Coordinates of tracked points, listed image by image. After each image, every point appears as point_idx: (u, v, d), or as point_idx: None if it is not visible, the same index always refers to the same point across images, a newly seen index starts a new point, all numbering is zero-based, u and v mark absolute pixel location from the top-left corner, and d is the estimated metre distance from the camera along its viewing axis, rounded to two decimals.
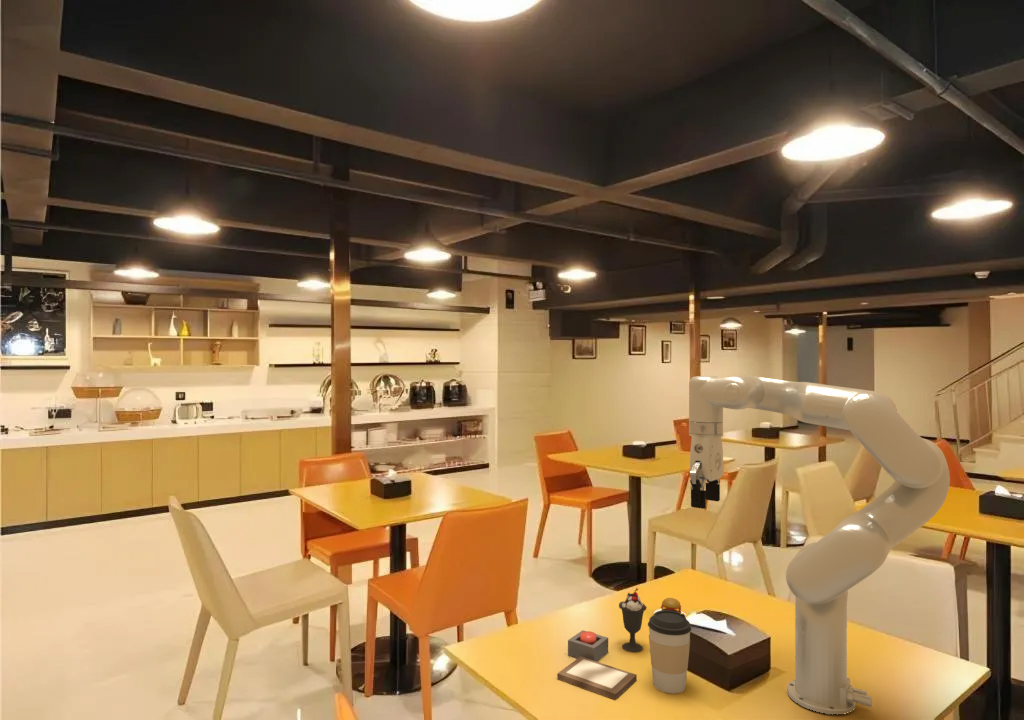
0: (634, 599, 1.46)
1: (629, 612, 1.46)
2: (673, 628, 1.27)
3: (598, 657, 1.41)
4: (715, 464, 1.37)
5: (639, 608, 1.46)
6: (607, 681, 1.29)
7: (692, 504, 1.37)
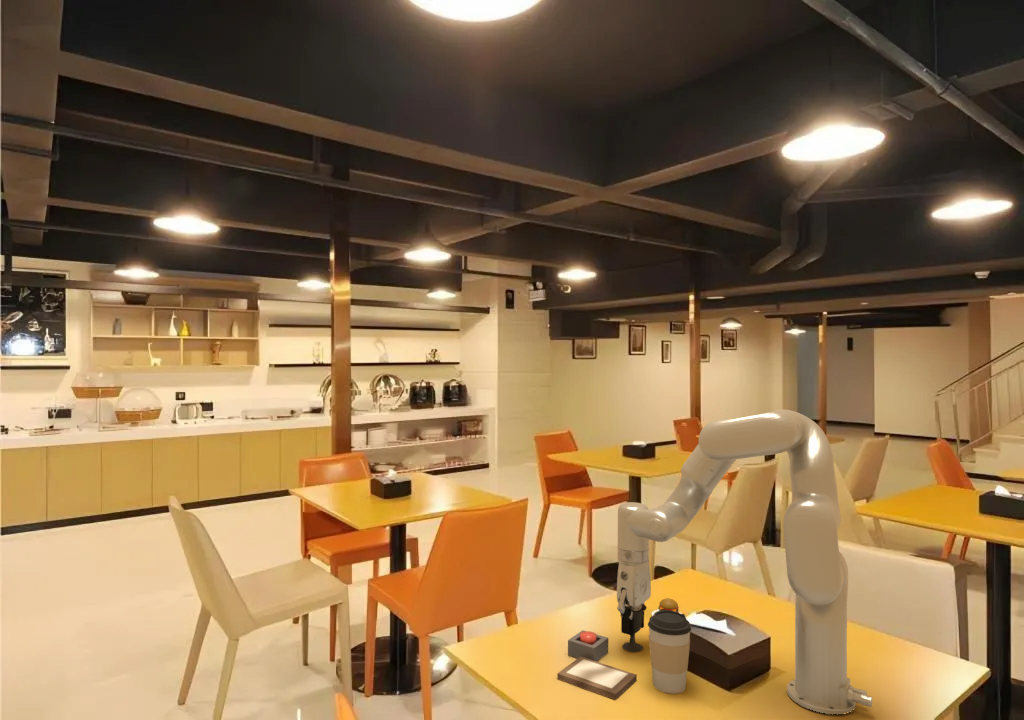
0: None
1: None
2: (673, 628, 1.27)
3: (598, 657, 1.41)
4: (640, 590, 1.45)
5: (639, 608, 1.46)
6: (607, 681, 1.29)
7: (622, 630, 1.47)
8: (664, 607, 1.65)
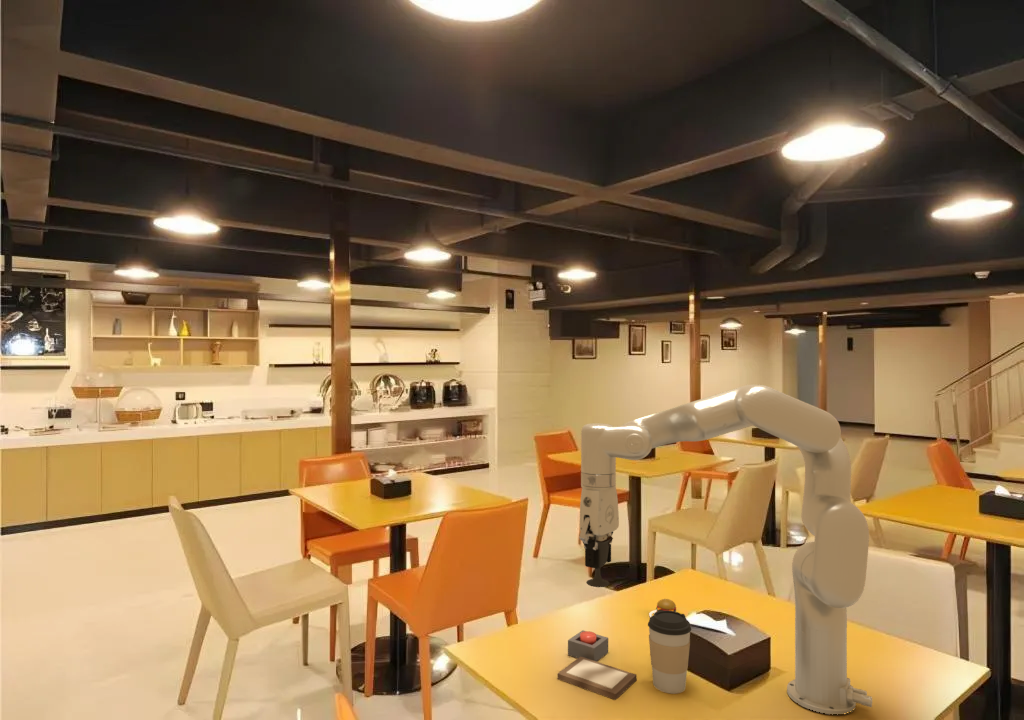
0: None
1: None
2: (673, 628, 1.27)
3: (598, 657, 1.41)
4: (606, 518, 1.30)
5: (604, 538, 1.31)
6: (607, 681, 1.29)
7: (586, 563, 1.31)
8: (661, 607, 1.65)
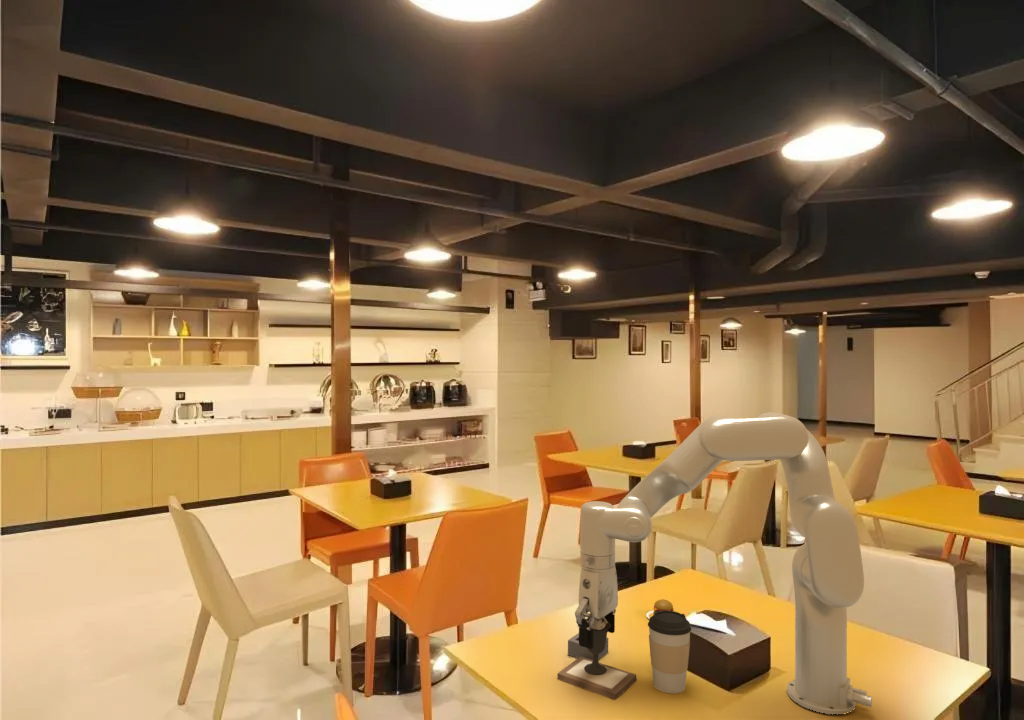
0: None
1: None
2: (673, 628, 1.27)
3: (598, 657, 1.41)
4: (605, 599, 1.30)
5: (602, 627, 1.32)
6: (607, 681, 1.29)
7: (580, 642, 1.29)
8: (658, 608, 1.65)
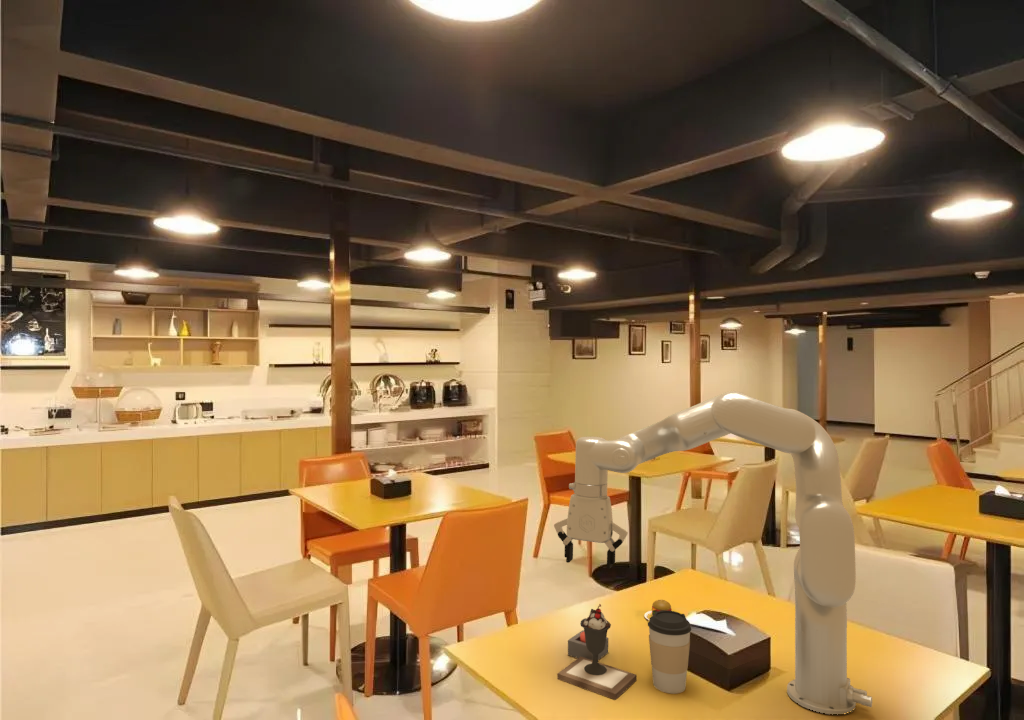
0: (597, 616, 1.32)
1: (591, 631, 1.32)
2: (673, 628, 1.27)
3: (598, 657, 1.41)
4: (580, 524, 1.40)
5: (602, 627, 1.32)
6: (607, 681, 1.29)
7: None
8: (656, 608, 1.64)
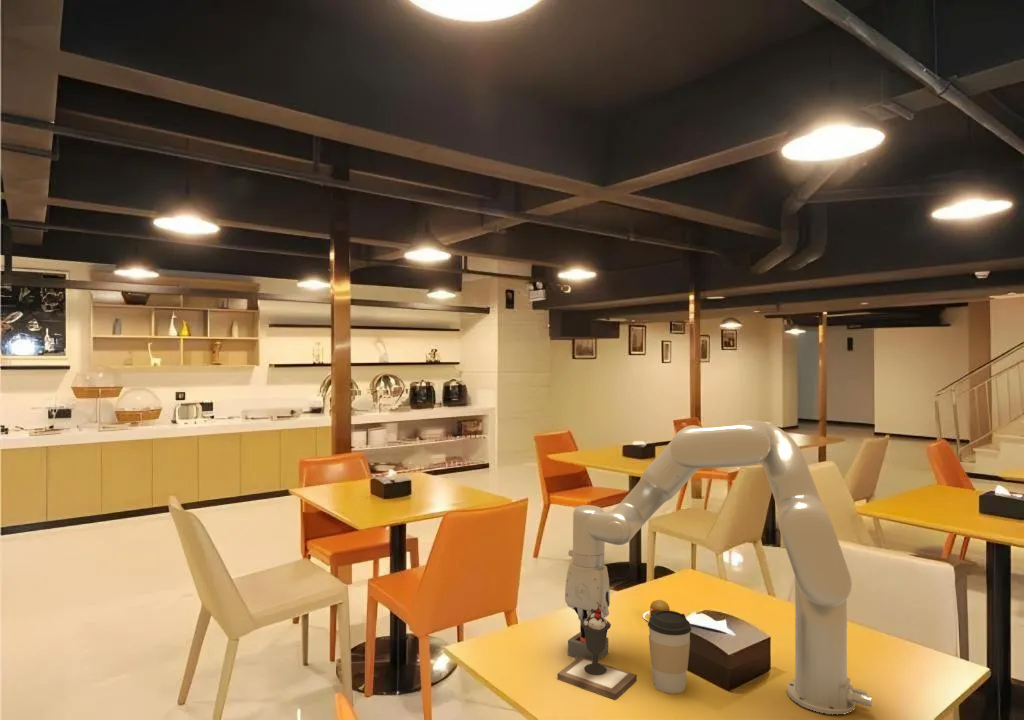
0: (597, 616, 1.32)
1: (591, 631, 1.32)
2: (673, 628, 1.27)
3: (598, 657, 1.41)
4: (576, 592, 1.44)
5: (602, 627, 1.32)
6: (607, 681, 1.29)
7: None
8: (654, 608, 1.64)
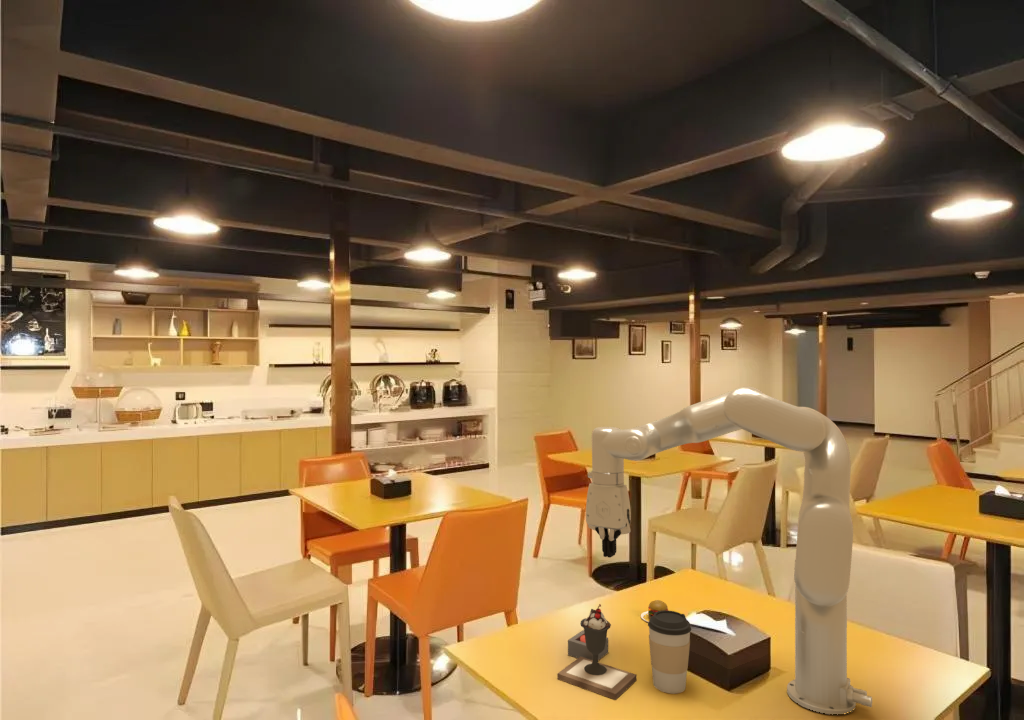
0: (597, 616, 1.32)
1: (591, 631, 1.32)
2: (673, 628, 1.27)
3: (598, 657, 1.41)
4: (597, 511, 1.45)
5: (602, 627, 1.32)
6: (607, 681, 1.29)
7: None
8: (652, 608, 1.64)
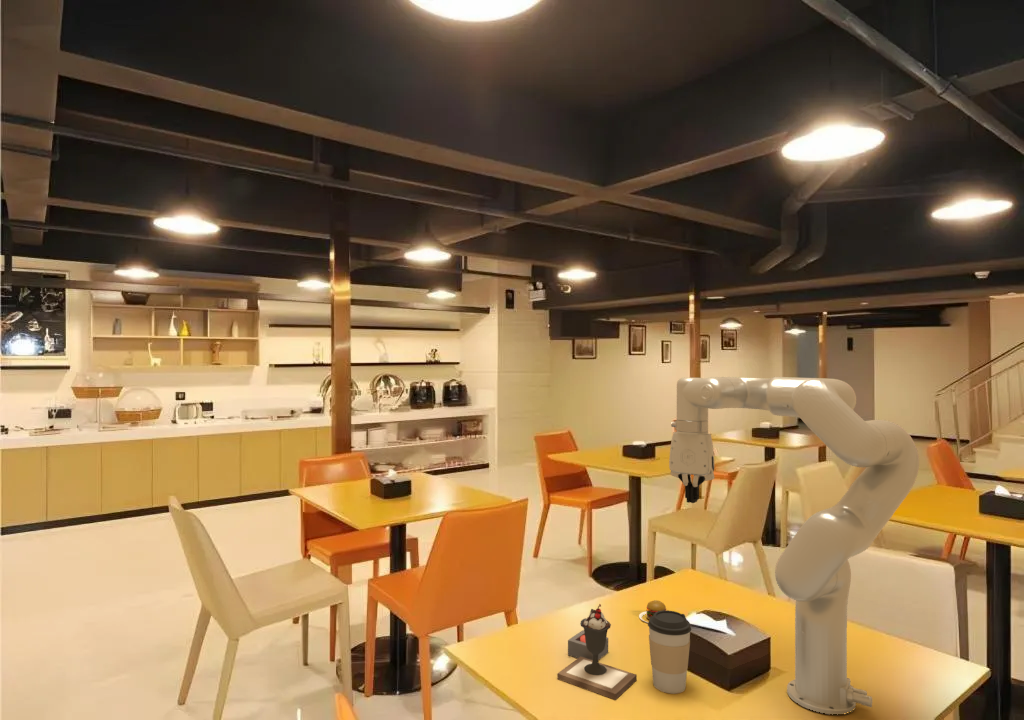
0: (597, 616, 1.32)
1: (591, 631, 1.32)
2: (673, 628, 1.27)
3: (598, 657, 1.41)
4: (681, 458, 1.49)
5: (602, 627, 1.32)
6: (607, 681, 1.29)
7: None
8: (650, 609, 1.64)
